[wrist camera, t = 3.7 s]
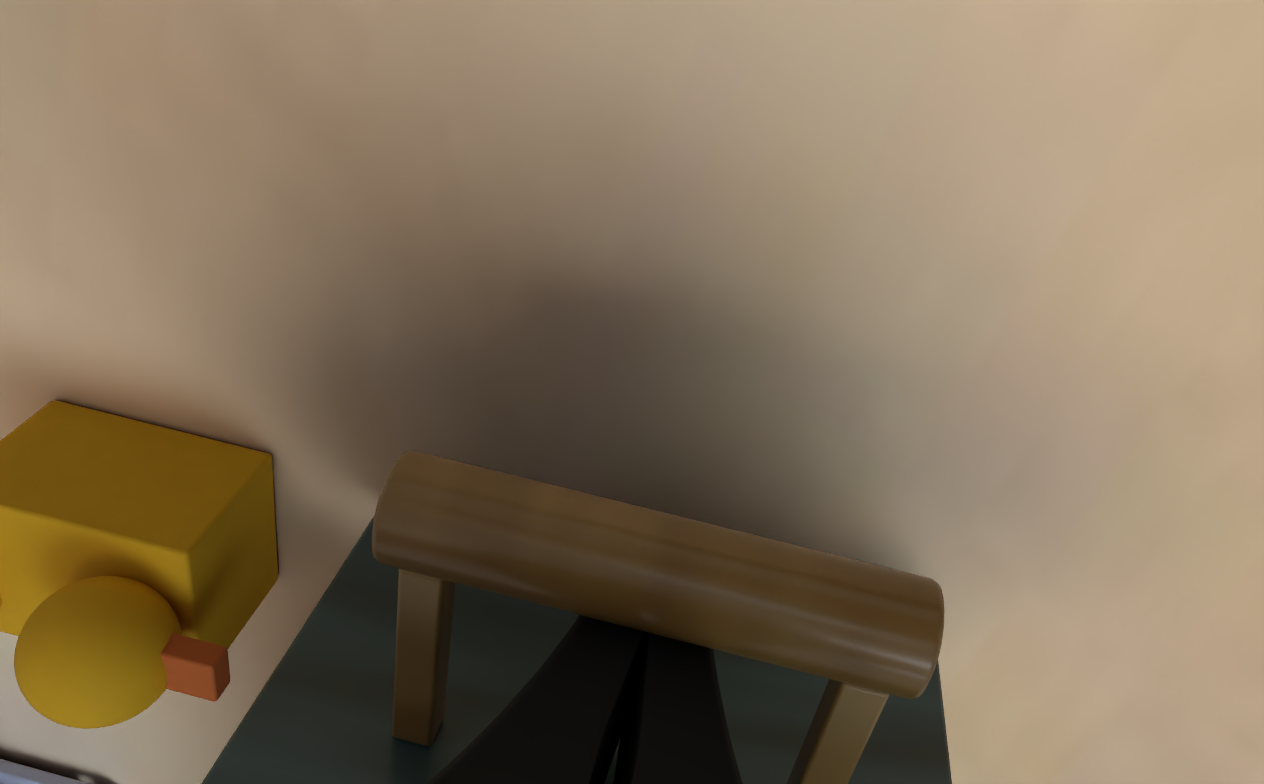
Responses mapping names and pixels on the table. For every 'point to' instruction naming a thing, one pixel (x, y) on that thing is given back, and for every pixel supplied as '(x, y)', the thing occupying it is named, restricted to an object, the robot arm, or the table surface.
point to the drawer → (604, 590)
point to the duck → (127, 560)
